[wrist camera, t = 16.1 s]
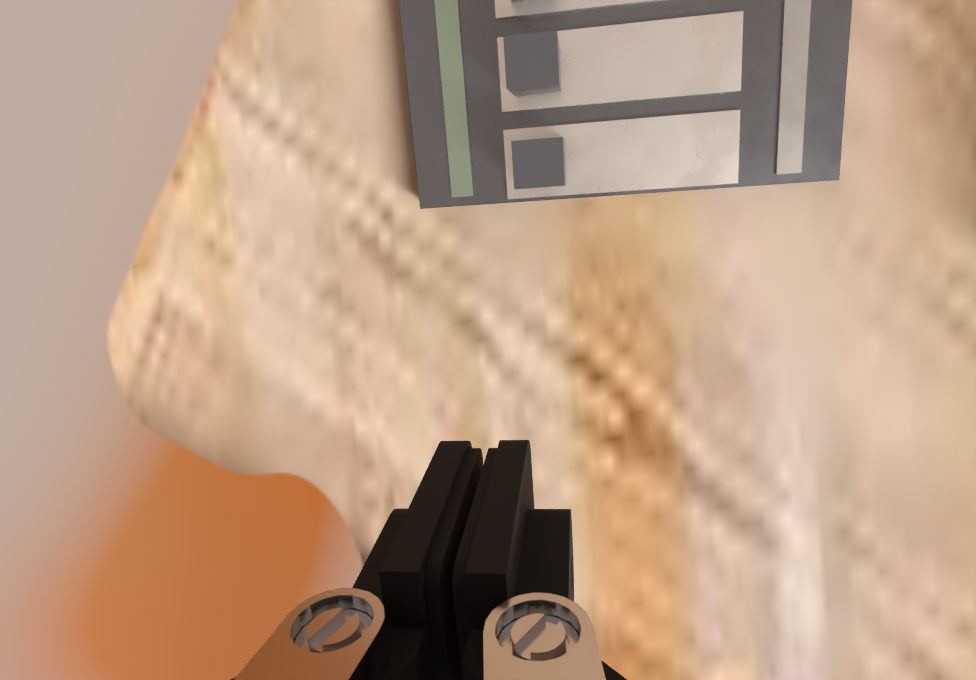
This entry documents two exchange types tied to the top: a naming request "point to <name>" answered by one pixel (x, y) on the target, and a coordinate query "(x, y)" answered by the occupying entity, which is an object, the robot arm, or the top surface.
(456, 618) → the robot arm
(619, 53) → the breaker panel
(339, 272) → the top surface
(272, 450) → the top surface
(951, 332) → the top surface
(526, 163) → the handle
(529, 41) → the handle
